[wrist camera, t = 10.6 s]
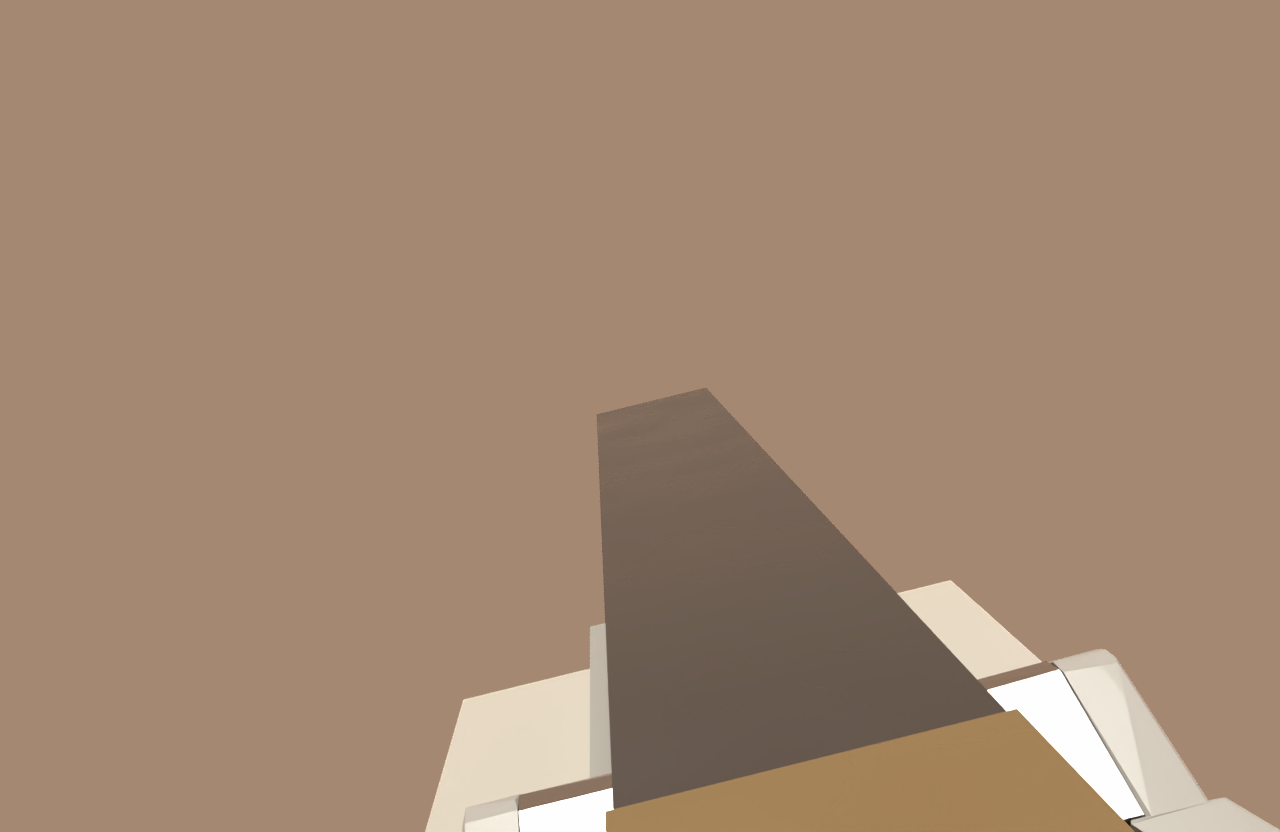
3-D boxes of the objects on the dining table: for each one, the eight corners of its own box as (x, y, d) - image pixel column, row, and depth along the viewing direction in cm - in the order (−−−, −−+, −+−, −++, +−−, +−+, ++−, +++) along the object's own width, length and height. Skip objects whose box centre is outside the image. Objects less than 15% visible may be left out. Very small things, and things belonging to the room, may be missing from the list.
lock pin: (734, 1451, 7) (609, 986, 6) (622, 523, 30) (594, 413, 30) (1241, 1323, 7) (1152, 848, 6) (733, 496, 30) (707, 385, 30)
